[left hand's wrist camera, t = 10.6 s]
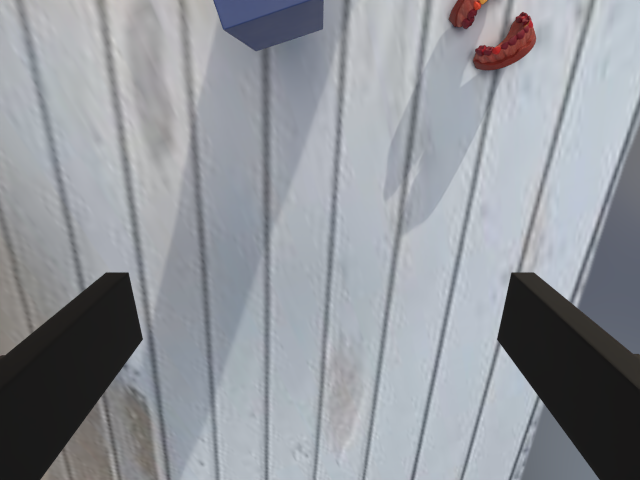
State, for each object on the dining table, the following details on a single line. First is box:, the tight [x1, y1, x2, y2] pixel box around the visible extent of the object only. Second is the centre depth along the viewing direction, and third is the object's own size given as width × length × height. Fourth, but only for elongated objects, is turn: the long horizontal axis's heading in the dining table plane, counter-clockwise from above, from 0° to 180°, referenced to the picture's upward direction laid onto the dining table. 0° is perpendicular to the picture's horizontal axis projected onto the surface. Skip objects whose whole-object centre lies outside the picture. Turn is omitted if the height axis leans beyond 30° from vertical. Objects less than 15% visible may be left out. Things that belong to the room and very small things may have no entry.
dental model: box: [449, 0, 536, 70], centre depth 34 cm, size 6×4×8 cm
